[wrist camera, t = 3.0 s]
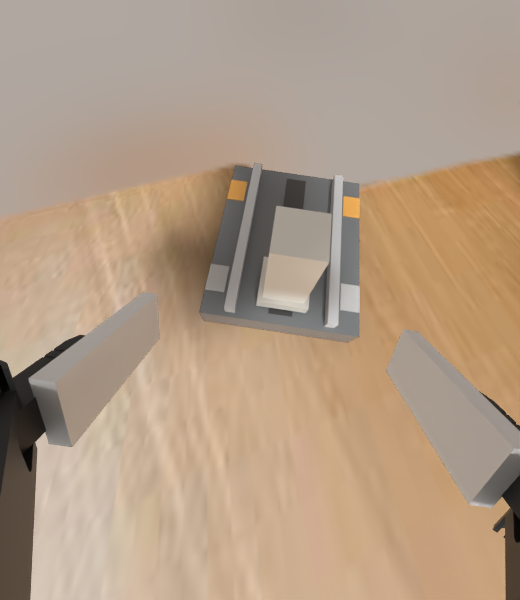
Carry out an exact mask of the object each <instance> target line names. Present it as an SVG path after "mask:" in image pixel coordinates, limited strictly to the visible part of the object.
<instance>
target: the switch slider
mask: <svg viewBox="0 0 520 600" xmlns="http://www.w3.org/2000/svg"><path fill="white" fill-rule="evenodd" d="M331 218H332V214H330V213H323V212H316V211H309V210H302V209H296V208H289V207H282V206H276V212H275V218H274V225H273V231H272V238H271V244H270V251H269V257H264V259H263V265H262V271H261V278H260V284H259V290H258V296H257V303H256V306H262V307H268V308H275V309H282V310H288V311H295V312H301V313H306V312H307V311H308V309H309V297H310V293H311V291H312V289H313V288H314V286H315V285H316V283H317V281H318V280H319V278H320V277H321V275H322V273H323V272H324V270H325V268H326V267H327V265H328V264H329V257H330V237H331Z"/></svg>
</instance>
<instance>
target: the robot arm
mask: <svg viewBox="0 0 520 600" xmlns="http://www.w3.org/2000/svg"><path fill="white" fill-rule="evenodd" d="M159 338H160V337H159V314H158V294H152V293H145V292H143V293H142V294H140V295H139V296H138V297H136V298H135V299H134V300H132V301H131V302H130V303H128V304H127V305H126V306H124V307H123V308H122V309H120V310H119V311H118V312H116V313H115V314H114V315H112V316H111V317H110V318H108V319H107V320H106V321H104V322H103V323H102V324H100V325H99V326H98V327H96V328H95V329H94V330H92V331H91V332H90V333H88V334H87V335H86V336H84V335H79V336H76V337H74V338H71V339H69V340H67V341H65V342H63V343H62V344H61V345H59V346H58V347H56V348H55V349H54V351H51V352H49V353H48V354H46V355H45V357H44V358H43V357H42V358H41V359H39V360H38V361H36V362H35V363H34V364H32V365H31V366H29V367H28V368H26V369H25V370H24V371H22V372H21V373H19V374H18V375H16V376H15V377H14V378H12V376H11V373H10V370H9V367H8V364H7V363H6V362H4V361H1V360H0V600H30V593H31V572H32V550H33V529H34V507H35V486H36V464H37V447H36V443H35V442H36V441H37V440H38V438H39V437H40V436H41V435H42V434H43V433H44V432H46V435H47V439H48V442H49V444H53V445H60V446H67V447H73V446H74V444H75V443H76V442H77V441H78V439H79V438H80V437H81V436H82V434H83V433H84V432H85V431H86V429H87V428H88V427H89V426H90V424H91V423H92V422H93V421H94V419H95V418H96V417H97V416H98V414H99V413H100V412H101V411H102V409H103V408H104V407H105V406H106V404H107V403H108V402H109V401H110V399H111V398H112V397H113V396H114V394H115V393H116V392H117V391H118V389H119V388H120V387H121V386H122V384H123V383H124V382H125V381H126V379H127V378H128V377H129V376H130V374H131V373H132V372H133V371H134V369H135V368H136V367H137V366H138V364H139V363H140V362H141V361H142V359H143V358H144V357H145V356H146V355H147V353H148V352H149V351H150V350H151V348H152V347H153V346H154V345H155V343H156V342H157V341H158V340H159ZM386 372H387V373H388V375H389V377H390V378H391V380H392V381H393V383H394V385H395V386H396V388H397V389H398V391H399V393H400V394H401V396H402V398H403V399H404V401H405V402H406V404H407V406H408V407H409V409H410V411H411V412H412V414H413V415H414V417H415V419H416V420H417V422H418V423H419V425H420V427H421V428H422V430H423V432H424V433H425V435H426V436H427V438H428V440H429V441H430V443H431V444H432V446H433V448H434V449H435V451H436V453H437V454H438V456H439V457H440V459H441V461H442V462H443V464H444V466H445V467H446V469H447V470H448V472H449V474H450V475H451V477H452V478H453V480H454V482H455V483H456V485H457V487H458V488H459V490H460V491H461V493H462V495H463V496H464V498H465V499H466V501H467V503H468V504H469V505H475V506H482V507H489V508H492V507H493V506H494V505H495V504H496V503H497V502H498V500H499V499H500V498H501V497H503V498H504V499H505V501H506V502H507V504H508V505H509V506H510V509H509V510H508V511H507V512H506V513H505V514H504V515H503V516H502V517H501V519H500V520H499V521H498V522H497V523H496V524H495V525H494V528H493V530H494V531H496V532H498V531H499V530H500V529H501V528H505V536H504V538H505V561H506V600H520V426H519V425H516V422H515V421H514V420H513V419H512V418H511V417H510V416H509V415H506V412H505V411H504V410H503V409H501V408H500V407H499V406H498V405H497V404H496V403H495V402H494V401H493V400H491V399H490V398H488V397H487V396H485V395H484V394H482V393H481V392H480V391H478V390H477V389H476V388H475V387H474V386H473V385H472V384H471V383H470V382H469V381H468V380H467V379H466V378H465V377H464V376H463V375H462V374H461V373H460V372H459V371H458V370H457V369H456V368H455V367H454V366H452V365H451V364H450V363H449V362H448V361H447V360H446V359H445V358H444V357H443V356H442V355H441V354H440V353H439V352H438V351H437V350H436V349H435V348H434V347H433V346H432V345H431V344H430V343H429V342H428V341H427V340H426V339H425V338H424V337H423V336H422V335H421V334H420V333H419V332H418V331H411V330H404V329H403V331H402V334H401V336H400V338H399V341H398V343H397V345H396V348H395V350H394V353H393V355H392V357H391V360H390V362H389V364H388V367H387V369H386Z"/></svg>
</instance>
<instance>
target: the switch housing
mask: <svg viewBox="0 0 520 600" xmlns="http://www.w3.org/2000/svg"><path fill="white" fill-rule="evenodd" d="M276 206H282V207H289V208H296V209H302V210H309V211H316V212H323V213H330V214H332V218H331V237H330V257H329V264H328V265H327V267H326V268H325V270H324V272H323V273H322V275H321V277H320V278H319V280H318V281H317V283H316V285H315V286H314V288H313V289H312V291H311V293H310V297H309V309H308V311H307V312H306V313H301V312H295V311H288V310H282V309H275V308H268V307H262V306H256V303H257V296H258V290H259V284H260V278H261V271H262V265H263V259H264V257H269V251H270V244H271V238H272V231H273V225H274V218H275V212H276ZM359 218H360V198H359V184H358V183H350V182H344V181H343V176H339V175H335V176H334V179H333V180H330V179H324V178H317V177H310V176H303V175H296V174H289V173H282V172H276V171H269V170H262V164H257V163H254V167H253V168H248V167H242V166H235V169H234V173H233V177H232V180H231V184H230V188H229V192H228V197H227V201H226V206H225V210H224V214H223V218H222V222H221V226H220V230H219V234H218V238H217V242H216V246H215V250H214V254H213V258H212V262H211V266H210V270H209V274H208V278H207V282H206V286H205V291H204V295H203V299H202V303H201V307H200V311H199V313H200V315H201V316H202V318H203V319H204V321H209V322H216V323H222V324H229V325H235V326H242V327H249V328H255V329H262V330H268V331H275V332H281V333H288V334H294V335H301V336H307V337H314V338H321V339H327V340H334V341H340V342H347V343H348V342H350V341H352V340H354V339H356V338H358V337H359V313H360V286H359Z"/></svg>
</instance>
